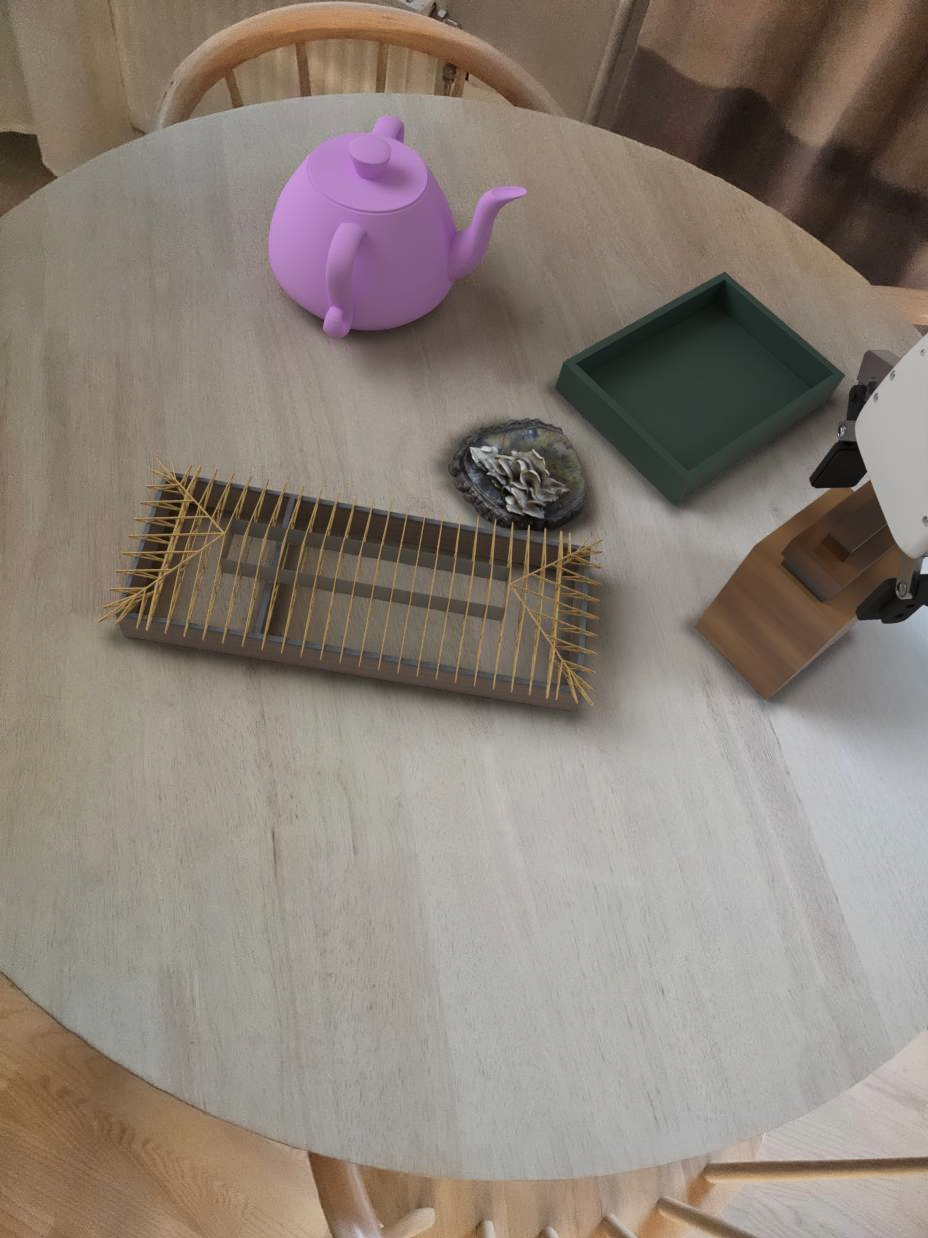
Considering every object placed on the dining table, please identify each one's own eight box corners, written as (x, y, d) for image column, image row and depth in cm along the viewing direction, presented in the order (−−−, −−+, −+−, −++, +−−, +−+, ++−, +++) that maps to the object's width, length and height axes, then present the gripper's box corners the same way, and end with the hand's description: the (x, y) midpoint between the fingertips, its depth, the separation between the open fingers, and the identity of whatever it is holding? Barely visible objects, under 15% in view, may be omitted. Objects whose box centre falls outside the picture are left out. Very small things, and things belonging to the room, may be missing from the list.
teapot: (479, 399, 84) (506, 276, 72) (238, 341, 83) (226, 208, 71) (516, 236, 95) (546, 106, 83) (304, 185, 94) (302, 45, 82)
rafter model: (107, 644, 68) (89, 602, 63) (162, 485, 75) (150, 435, 70) (581, 724, 70) (603, 690, 65) (592, 562, 77) (612, 519, 72)
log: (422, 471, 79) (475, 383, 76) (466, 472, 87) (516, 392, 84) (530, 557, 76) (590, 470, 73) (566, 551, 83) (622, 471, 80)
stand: (773, 565, 80) (841, 479, 69) (844, 634, 77) (926, 556, 67) (693, 626, 76) (754, 545, 65) (766, 700, 73) (841, 629, 63)
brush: (860, 495, 69) (890, 460, 65) (907, 538, 67) (941, 504, 64) (772, 563, 65) (800, 529, 61) (821, 610, 63) (852, 578, 60)
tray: (711, 298, 94) (724, 270, 91) (828, 400, 90) (845, 374, 87) (554, 388, 86) (563, 361, 83) (674, 506, 81) (688, 481, 78)
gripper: (1183, 503, 41) (956, 668, 56) (1028, 226, 49) (865, 436, 64) (1030, 507, 40) (839, 676, 55) (897, 223, 48) (761, 438, 63)
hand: (853, 547), depth 59 cm, fingers open, 9 cm apart
